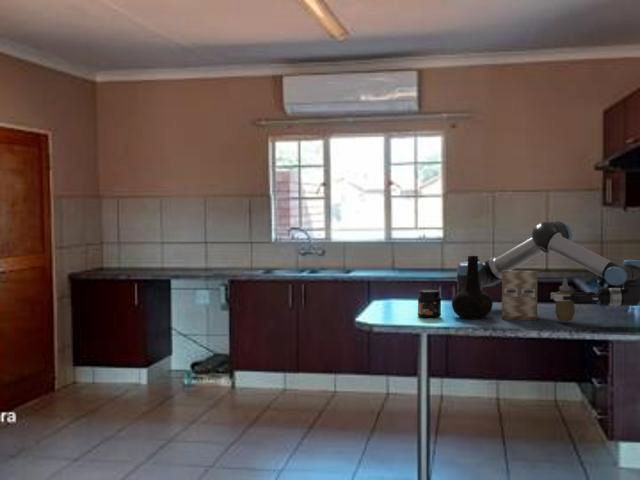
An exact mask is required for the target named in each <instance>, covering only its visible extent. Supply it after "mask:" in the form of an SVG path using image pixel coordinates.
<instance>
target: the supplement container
mask: <svg viewBox="0 0 640 480" xmlns="http://www.w3.org/2000/svg"><path fill="white" fill-rule="evenodd" d="M441 307H442V298H441V291H440V290H439V289H420V290H418V297H417V316H418V317H419V318H420V317H421V319H428V318H433V319H439V318H441V316H442V308H441Z"/></svg>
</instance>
